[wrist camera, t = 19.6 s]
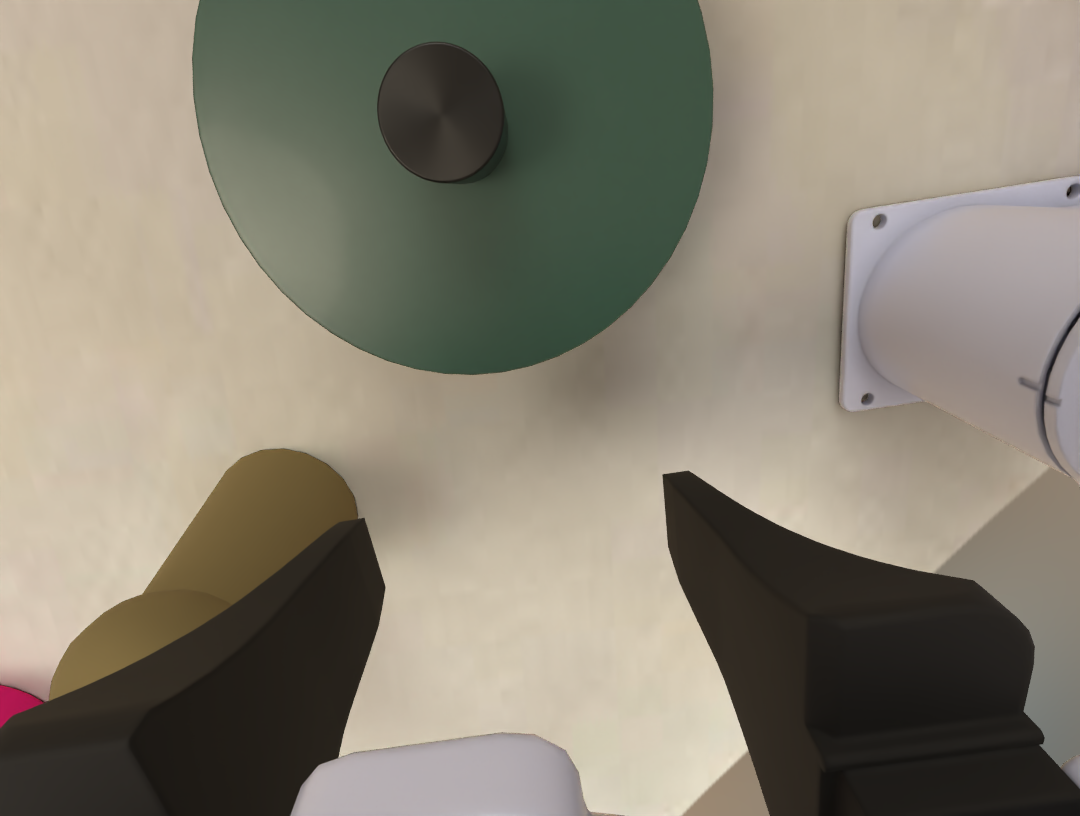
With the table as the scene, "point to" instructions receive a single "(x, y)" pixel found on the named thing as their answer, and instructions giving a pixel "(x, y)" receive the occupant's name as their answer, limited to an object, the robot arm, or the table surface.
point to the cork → (215, 560)
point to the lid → (456, 163)
